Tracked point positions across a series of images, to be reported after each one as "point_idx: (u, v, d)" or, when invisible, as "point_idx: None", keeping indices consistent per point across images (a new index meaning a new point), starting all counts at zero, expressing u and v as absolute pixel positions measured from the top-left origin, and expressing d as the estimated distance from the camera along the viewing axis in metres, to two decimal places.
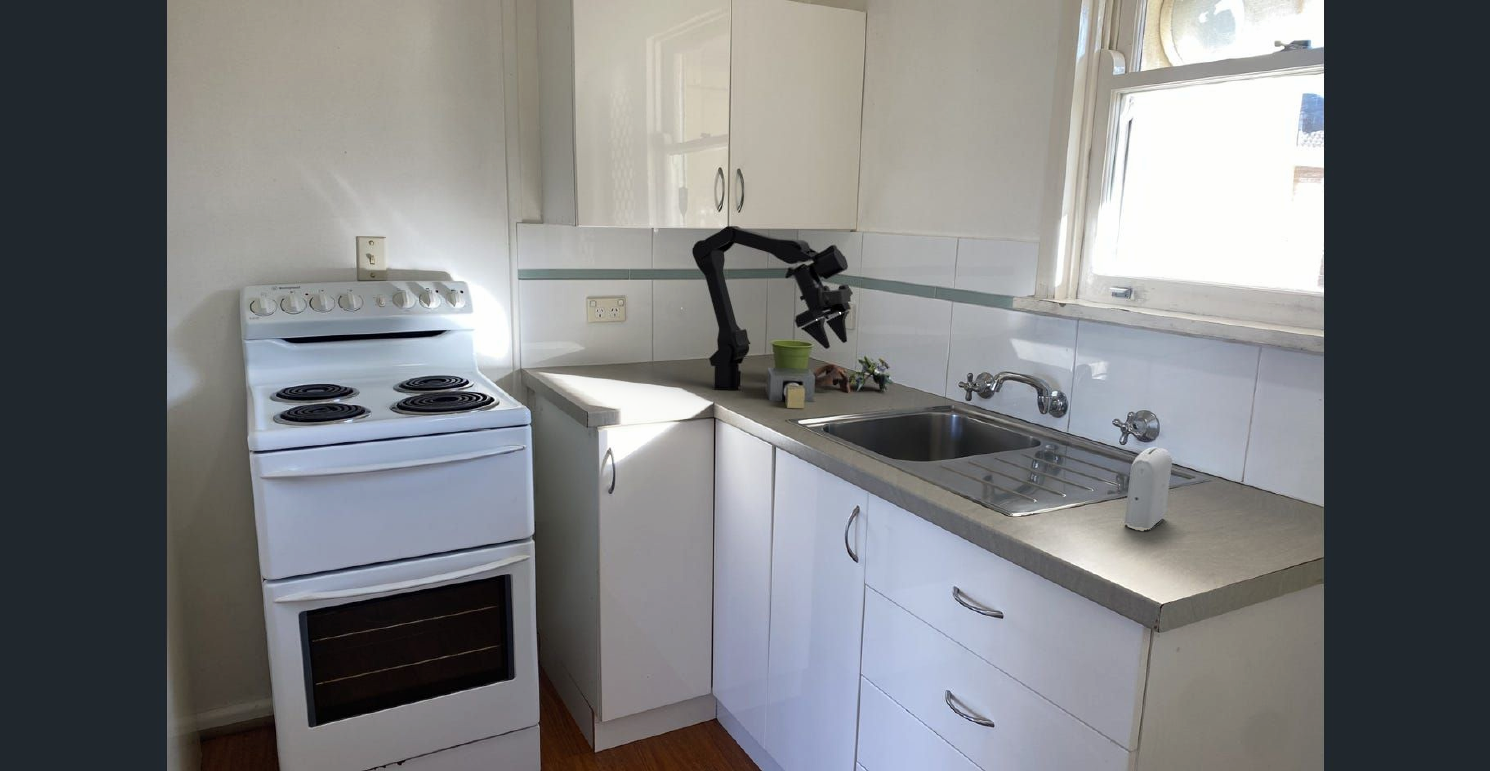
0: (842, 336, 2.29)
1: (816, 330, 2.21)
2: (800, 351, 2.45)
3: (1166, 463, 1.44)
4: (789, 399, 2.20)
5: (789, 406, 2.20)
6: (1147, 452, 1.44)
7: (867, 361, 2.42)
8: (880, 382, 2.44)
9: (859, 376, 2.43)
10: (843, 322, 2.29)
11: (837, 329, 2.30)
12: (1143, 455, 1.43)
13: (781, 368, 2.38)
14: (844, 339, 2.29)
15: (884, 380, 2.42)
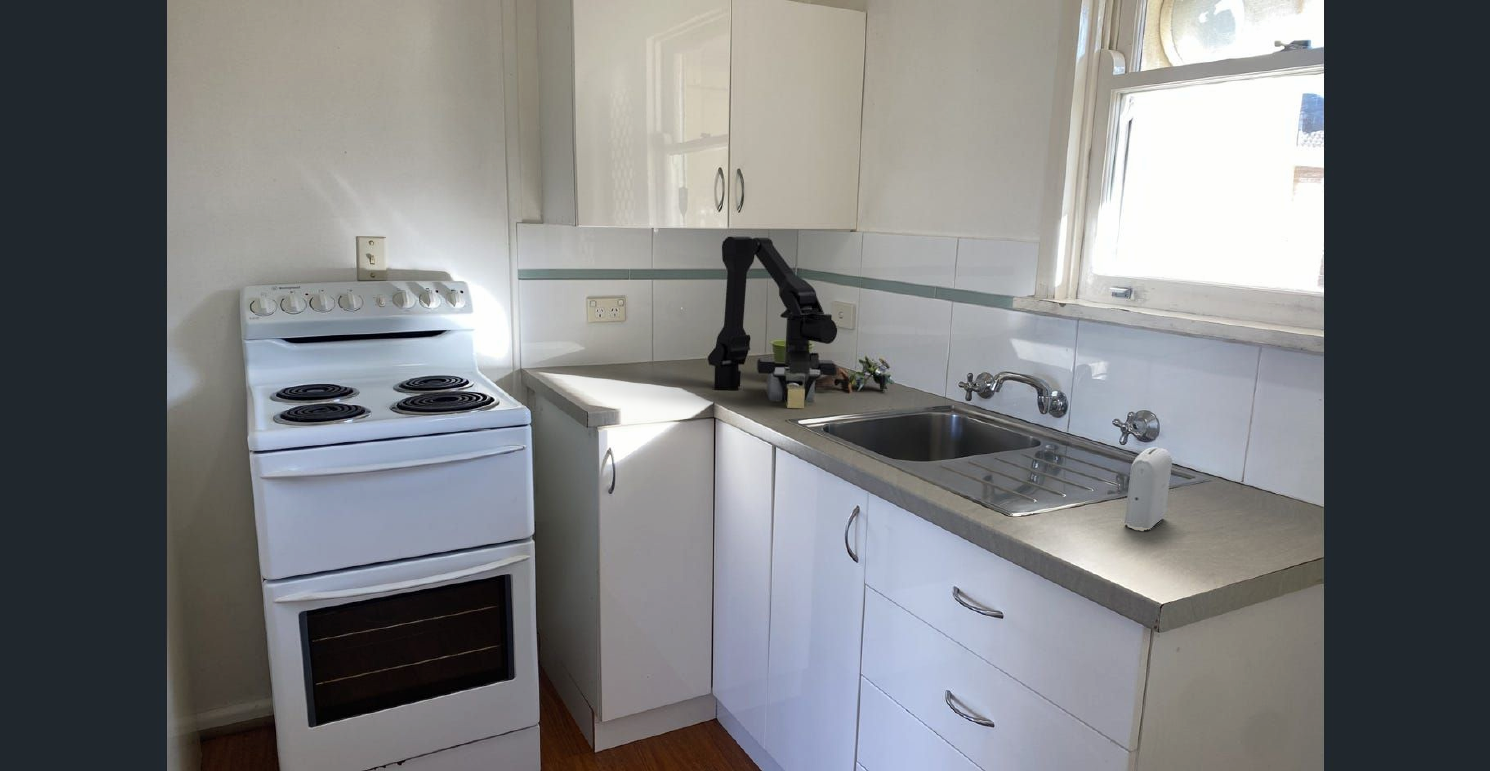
0: None
1: None
2: None
3: (1166, 463, 1.44)
4: (789, 399, 2.20)
5: (789, 406, 2.20)
6: (1147, 452, 1.44)
7: (868, 361, 2.42)
8: (881, 382, 2.44)
9: (860, 376, 2.43)
10: (808, 383, 2.21)
11: (805, 385, 2.23)
12: (1143, 455, 1.43)
13: None
14: None
15: (885, 380, 2.42)
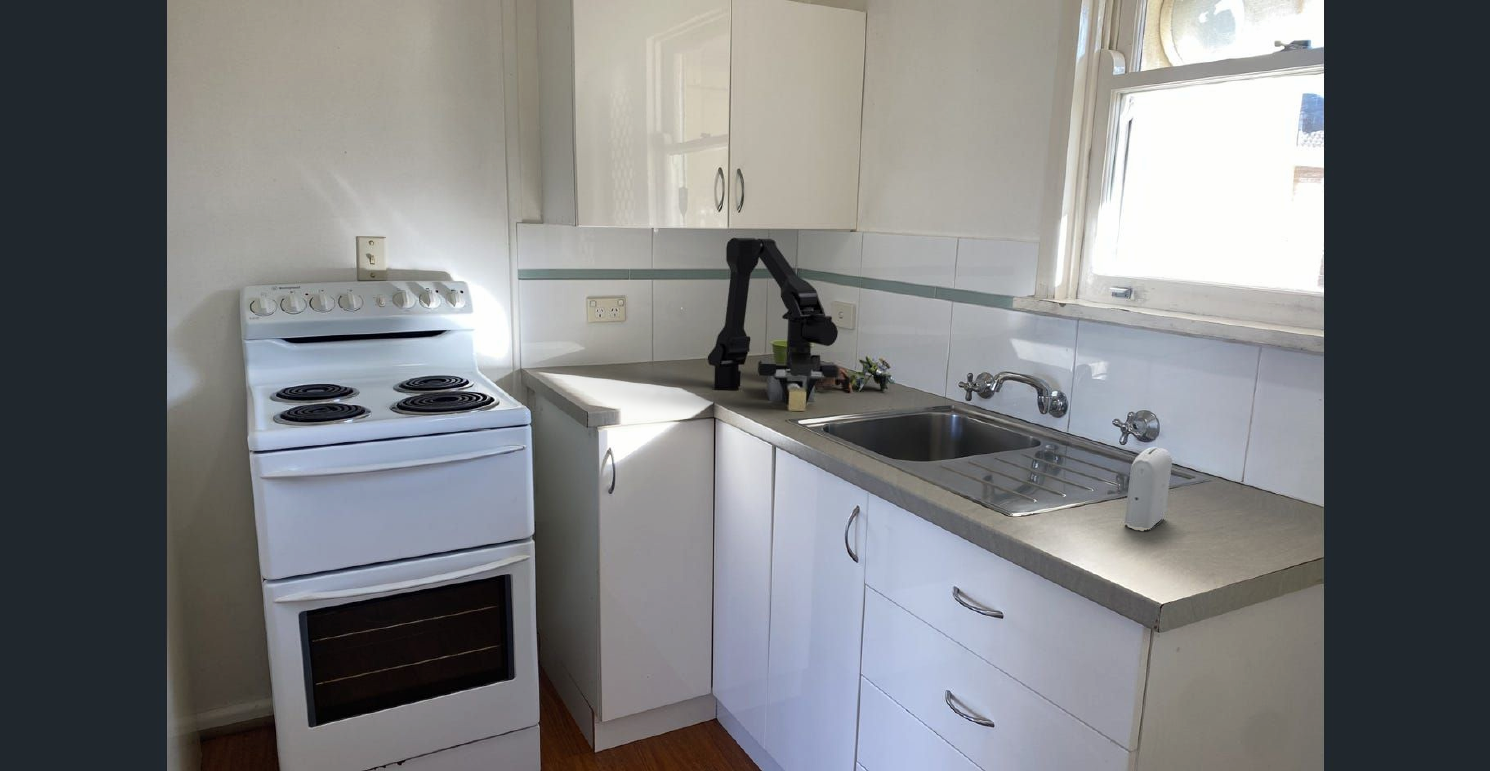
0: None
1: None
2: None
3: (1166, 463, 1.44)
4: (790, 402, 2.17)
5: (790, 409, 2.18)
6: (1147, 452, 1.44)
7: (868, 361, 2.42)
8: (881, 382, 2.44)
9: (860, 376, 2.43)
10: (809, 386, 2.18)
11: (806, 388, 2.20)
12: (1143, 455, 1.43)
13: None
14: None
15: (885, 380, 2.42)
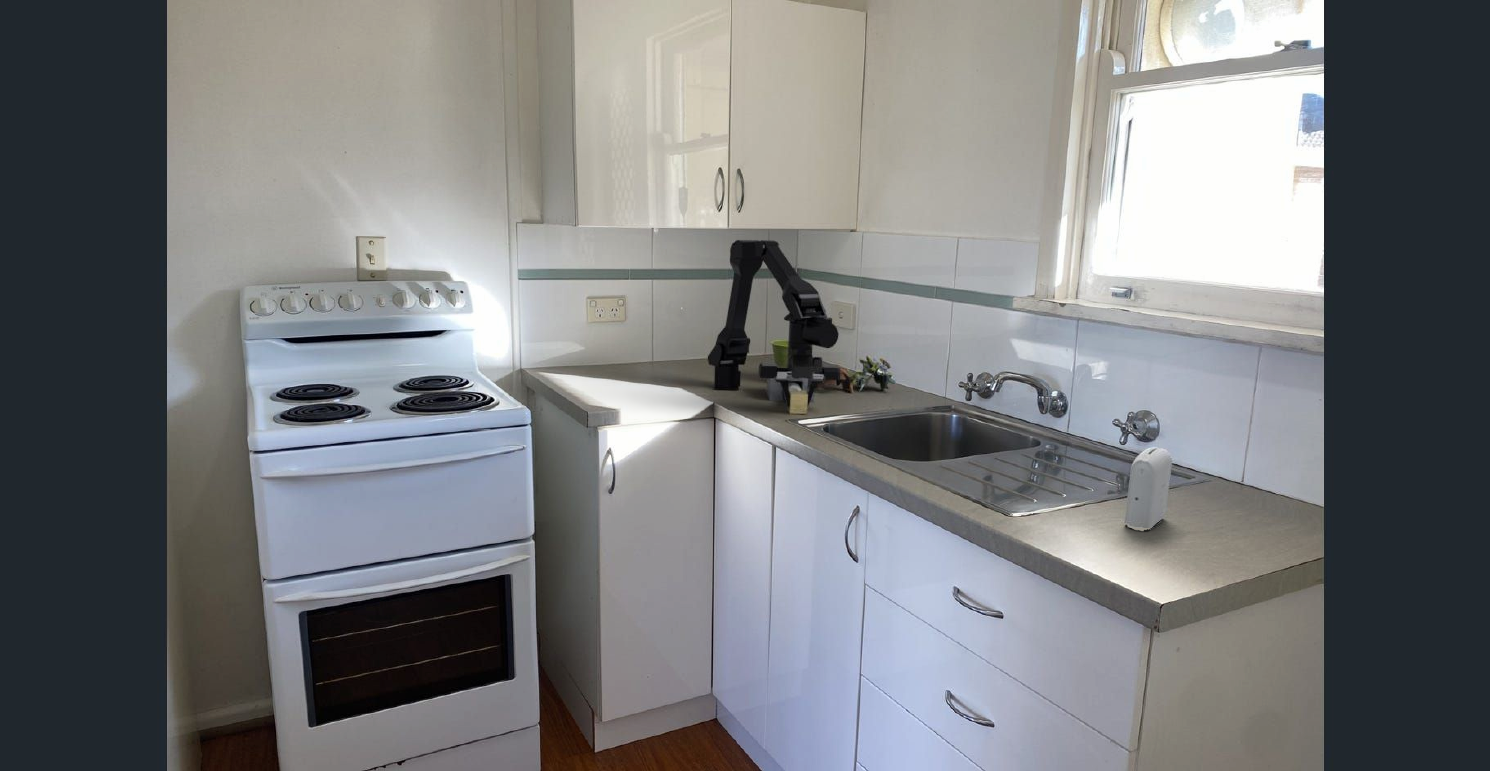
0: None
1: None
2: None
3: (1166, 463, 1.44)
4: (792, 404, 2.14)
5: (792, 411, 2.15)
6: (1147, 452, 1.44)
7: (869, 361, 2.42)
8: (882, 382, 2.44)
9: (861, 376, 2.43)
10: (811, 388, 2.15)
11: (808, 390, 2.17)
12: (1143, 455, 1.43)
13: None
14: None
15: (886, 380, 2.42)
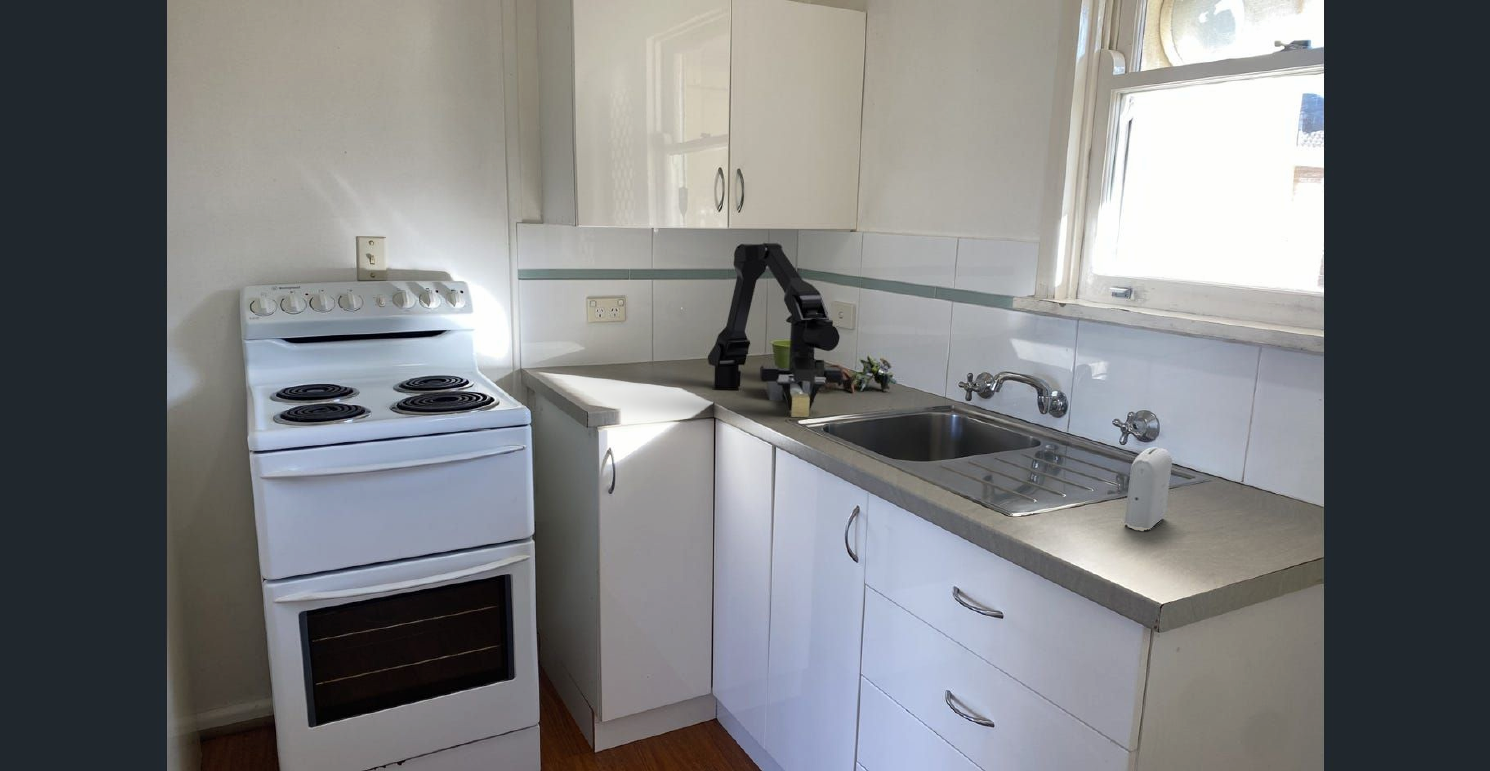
0: None
1: None
2: None
3: (1166, 463, 1.44)
4: (793, 408, 2.11)
5: (793, 415, 2.11)
6: (1147, 452, 1.44)
7: (870, 361, 2.42)
8: (882, 382, 2.44)
9: (862, 376, 2.44)
10: (813, 391, 2.11)
11: (810, 393, 2.14)
12: (1143, 455, 1.43)
13: (781, 368, 2.38)
14: None
15: (887, 380, 2.42)
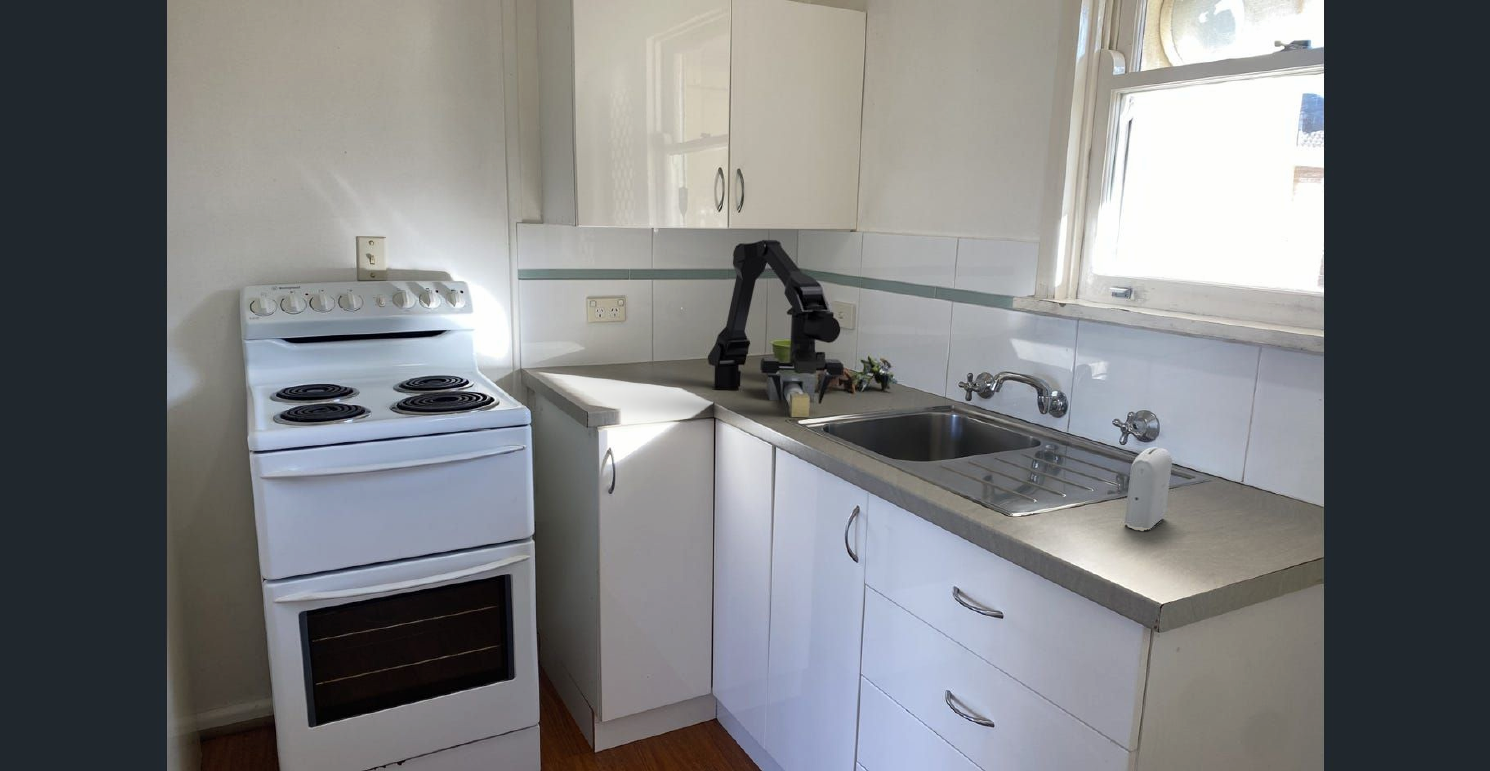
0: (819, 396, 2.13)
1: None
2: None
3: (1166, 463, 1.44)
4: (793, 408, 2.11)
5: (793, 415, 2.11)
6: (1147, 452, 1.44)
7: (871, 361, 2.42)
8: (883, 382, 2.45)
9: (863, 376, 2.44)
10: (824, 384, 2.11)
11: (821, 386, 2.13)
12: (1143, 455, 1.43)
13: None
14: (819, 400, 2.13)
15: (888, 380, 2.43)
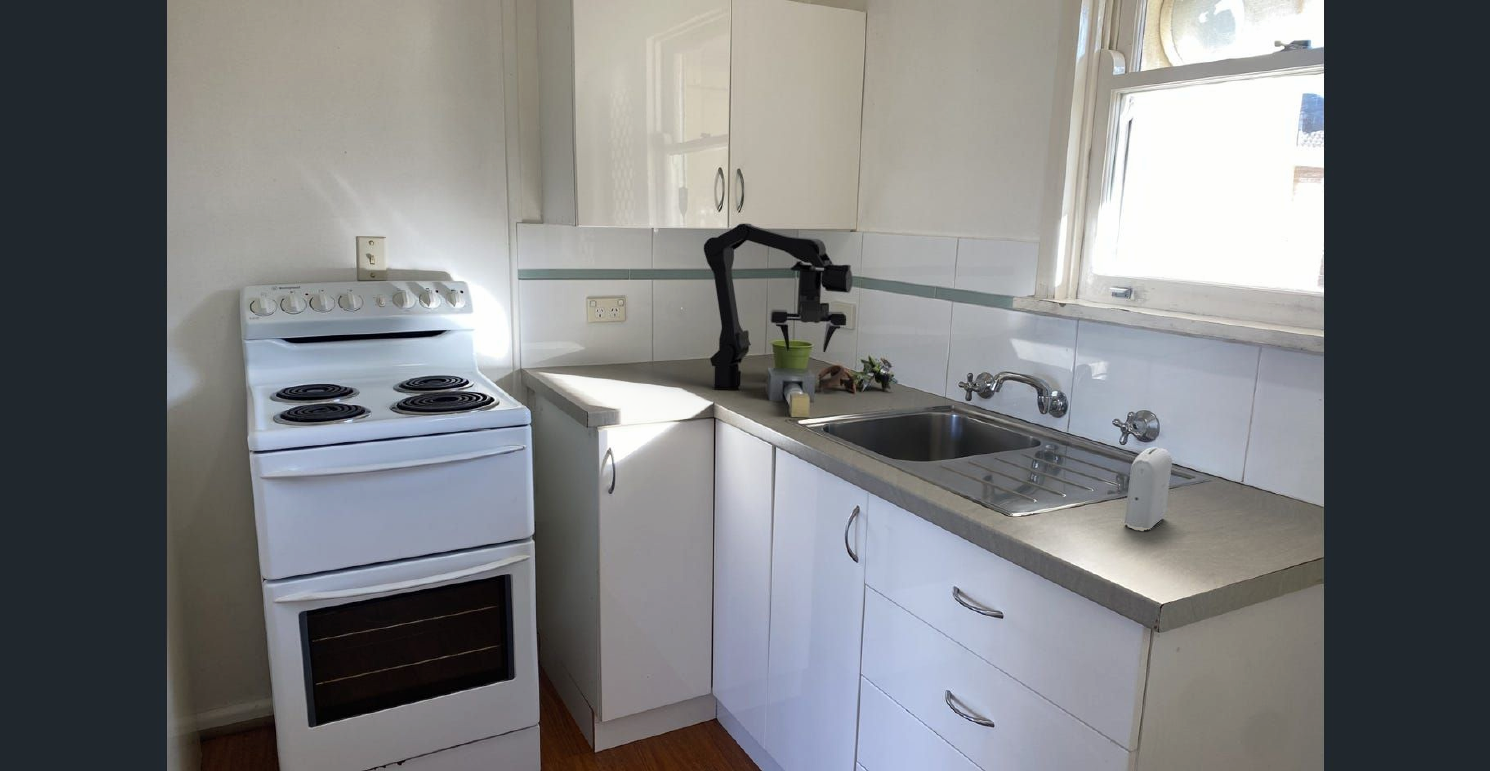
0: (823, 345, 2.32)
1: None
2: (800, 351, 2.45)
3: (1166, 463, 1.44)
4: (793, 408, 2.11)
5: (793, 415, 2.11)
6: (1147, 452, 1.44)
7: (871, 361, 2.42)
8: (883, 381, 2.45)
9: (863, 376, 2.44)
10: (828, 334, 2.30)
11: (825, 336, 2.32)
12: (1143, 455, 1.43)
13: (781, 368, 2.38)
14: (823, 349, 2.32)
15: (888, 379, 2.43)
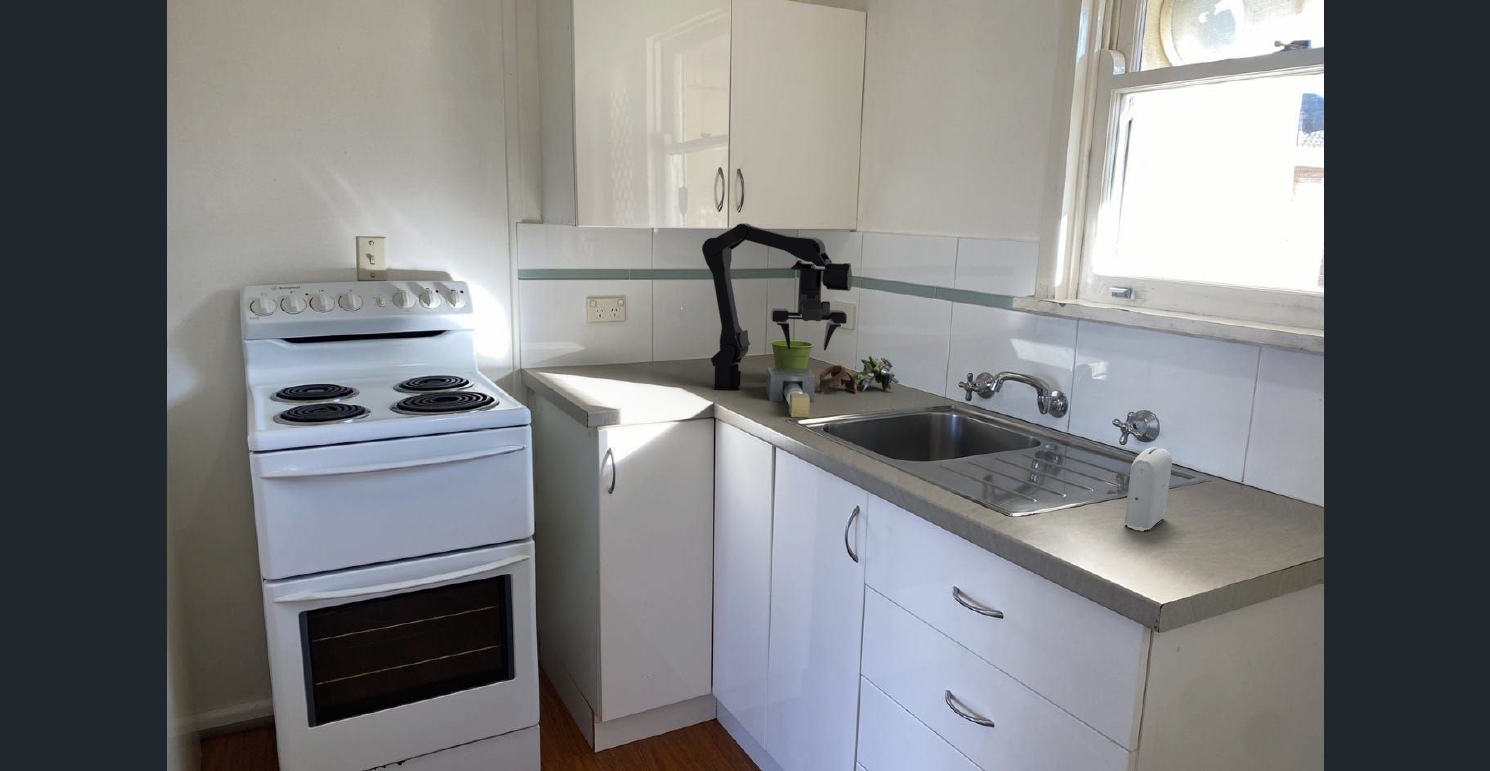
0: (824, 344, 2.34)
1: None
2: (800, 351, 2.45)
3: (1166, 463, 1.44)
4: (793, 408, 2.11)
5: (793, 415, 2.11)
6: (1147, 452, 1.44)
7: (872, 361, 2.42)
8: (884, 381, 2.45)
9: (864, 376, 2.44)
10: (829, 332, 2.32)
11: (826, 334, 2.34)
12: (1143, 455, 1.43)
13: (781, 368, 2.38)
14: (824, 347, 2.33)
15: (889, 379, 2.43)
